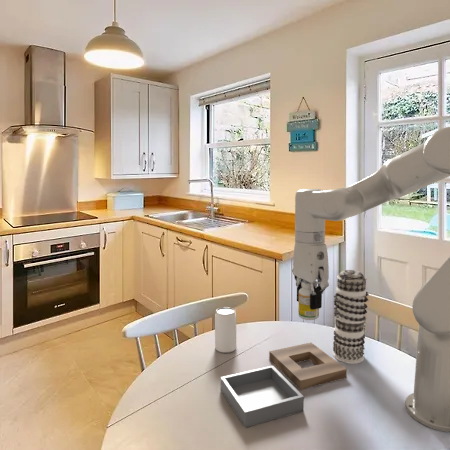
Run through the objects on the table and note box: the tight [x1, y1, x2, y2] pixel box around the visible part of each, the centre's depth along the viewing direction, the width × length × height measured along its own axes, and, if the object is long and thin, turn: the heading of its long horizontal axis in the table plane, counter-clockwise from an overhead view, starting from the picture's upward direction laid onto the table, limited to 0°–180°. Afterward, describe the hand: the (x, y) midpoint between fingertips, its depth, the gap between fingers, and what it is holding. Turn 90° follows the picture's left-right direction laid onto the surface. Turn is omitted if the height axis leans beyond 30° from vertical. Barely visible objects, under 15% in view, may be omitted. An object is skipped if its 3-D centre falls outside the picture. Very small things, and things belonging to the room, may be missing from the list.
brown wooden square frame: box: [268, 342, 348, 391], centre depth 102 cm, size 16×14×2 cm
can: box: [214, 306, 237, 354], centre depth 113 cm, size 6×6×12 cm
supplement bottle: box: [298, 280, 320, 321], centre depth 99 cm, size 5×5×10 cm
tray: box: [220, 364, 305, 429], centre depth 88 cm, size 14×14×4 cm
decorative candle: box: [332, 269, 369, 364], centre depth 107 cm, size 9×9×25 cm
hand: (308, 303), depth 99 cm, fingers closed on supplement bottle, 5 cm apart
